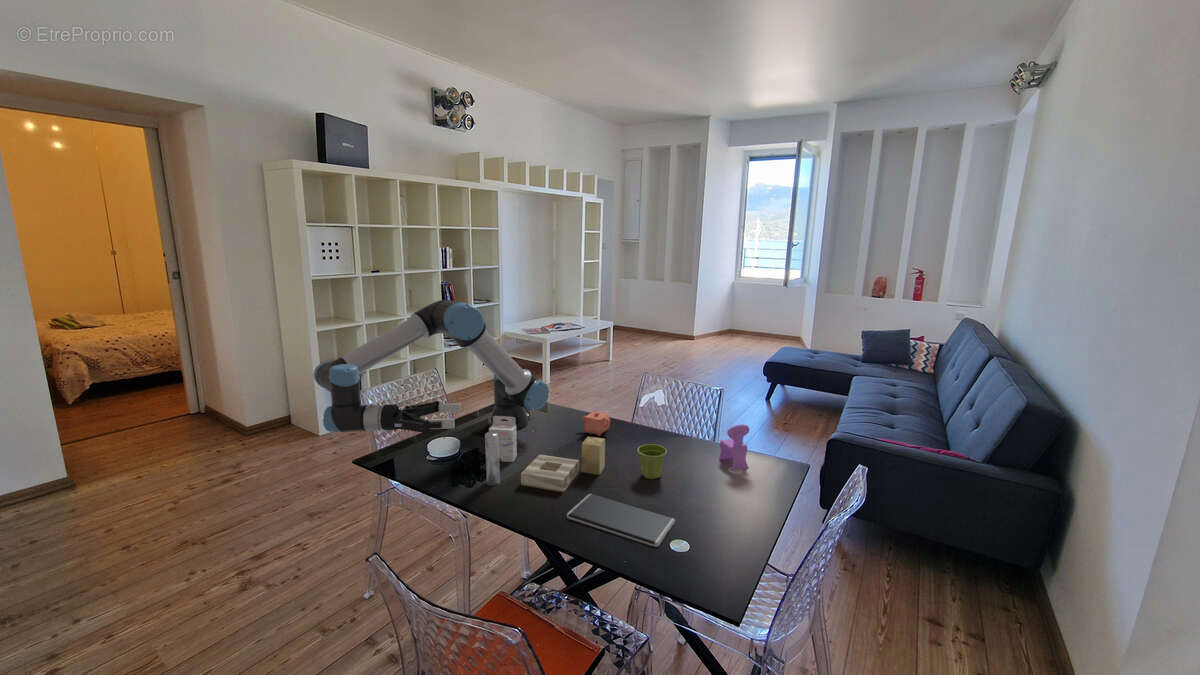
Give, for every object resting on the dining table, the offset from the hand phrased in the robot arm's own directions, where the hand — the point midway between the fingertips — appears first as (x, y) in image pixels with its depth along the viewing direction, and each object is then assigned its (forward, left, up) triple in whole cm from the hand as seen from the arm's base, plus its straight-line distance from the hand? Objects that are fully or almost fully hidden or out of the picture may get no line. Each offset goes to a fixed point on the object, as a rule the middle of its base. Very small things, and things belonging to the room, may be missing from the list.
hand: (457, 415), depth 147 cm
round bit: (-4, +9, -22) cm, 24 cm away
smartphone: (+4, +52, -23) cm, 57 cm away
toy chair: (-41, +80, -23) cm, 93 cm away
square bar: (-22, +36, -22) cm, 48 cm away
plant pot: (-24, +55, -23) cm, 64 cm away
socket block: (-12, +25, -22) cm, 36 cm away
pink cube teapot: (-53, +27, -23) cm, 64 cm away
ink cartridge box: (-20, +4, -23) cm, 31 cm away
